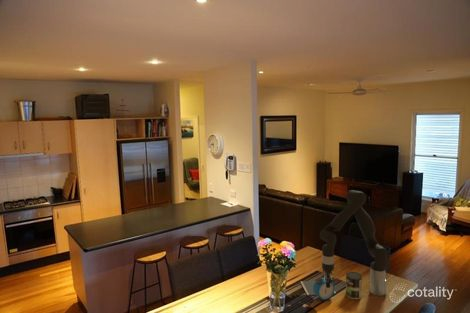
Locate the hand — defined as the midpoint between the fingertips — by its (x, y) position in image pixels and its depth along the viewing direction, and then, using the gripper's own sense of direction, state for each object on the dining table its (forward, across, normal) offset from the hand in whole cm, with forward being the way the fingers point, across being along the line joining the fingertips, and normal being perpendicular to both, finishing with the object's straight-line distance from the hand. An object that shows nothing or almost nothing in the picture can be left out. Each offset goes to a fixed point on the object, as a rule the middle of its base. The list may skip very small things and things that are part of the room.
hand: (328, 287), depth 205 cm
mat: (+12, +21, 0) cm, 24 cm away
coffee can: (+12, +8, -21) cm, 26 cm away
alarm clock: (+12, +8, 0) cm, 14 cm away
